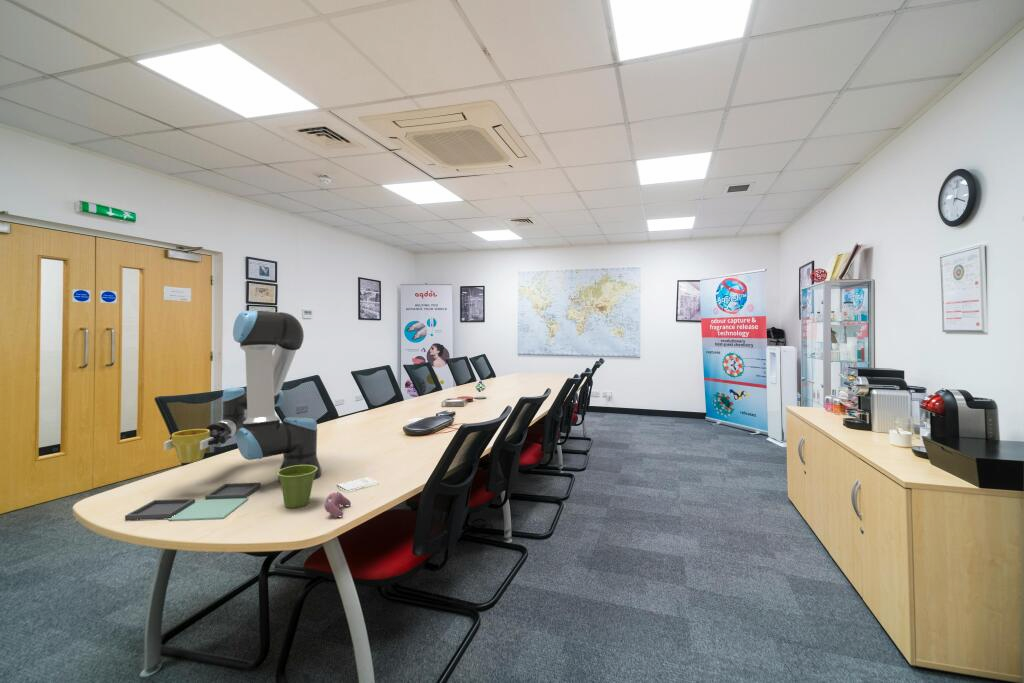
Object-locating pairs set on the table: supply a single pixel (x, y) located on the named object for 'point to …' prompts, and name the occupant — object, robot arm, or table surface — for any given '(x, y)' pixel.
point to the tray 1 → (160, 509)
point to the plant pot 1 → (189, 444)
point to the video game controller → (336, 504)
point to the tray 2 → (233, 491)
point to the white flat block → (356, 483)
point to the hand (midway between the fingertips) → (183, 445)
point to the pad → (209, 509)
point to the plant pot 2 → (297, 484)
